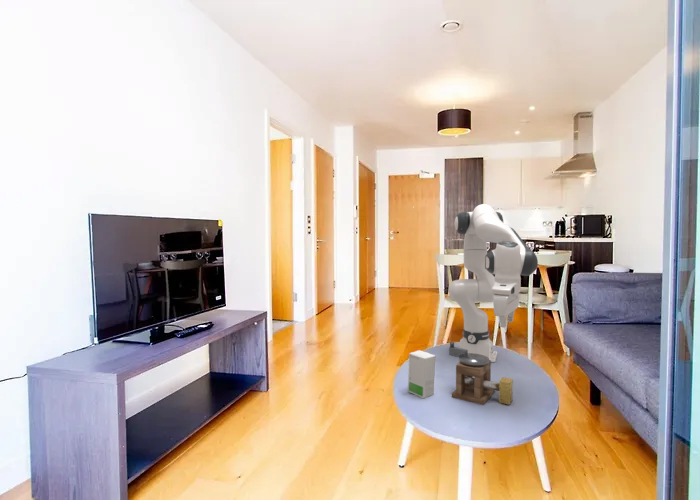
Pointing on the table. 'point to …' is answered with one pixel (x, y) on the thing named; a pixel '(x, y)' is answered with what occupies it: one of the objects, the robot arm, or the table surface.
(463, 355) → the handwheel
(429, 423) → the table surface
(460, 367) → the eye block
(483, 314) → the robot arm
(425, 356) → the skincare box
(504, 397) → the gold cube on rod
